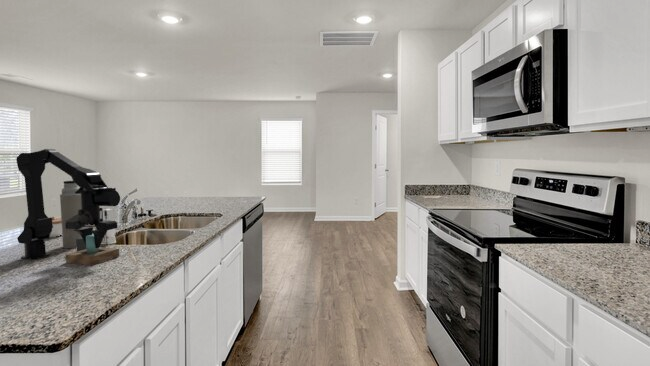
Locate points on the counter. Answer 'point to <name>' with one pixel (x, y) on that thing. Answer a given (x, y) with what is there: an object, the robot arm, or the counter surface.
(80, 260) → the socket block
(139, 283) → the counter surface
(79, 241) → the black dowel
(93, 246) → the peg
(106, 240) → the beer glass
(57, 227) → the lidded jar
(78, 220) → the robot arm
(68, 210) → the thermos bottle
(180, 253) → the counter surface
